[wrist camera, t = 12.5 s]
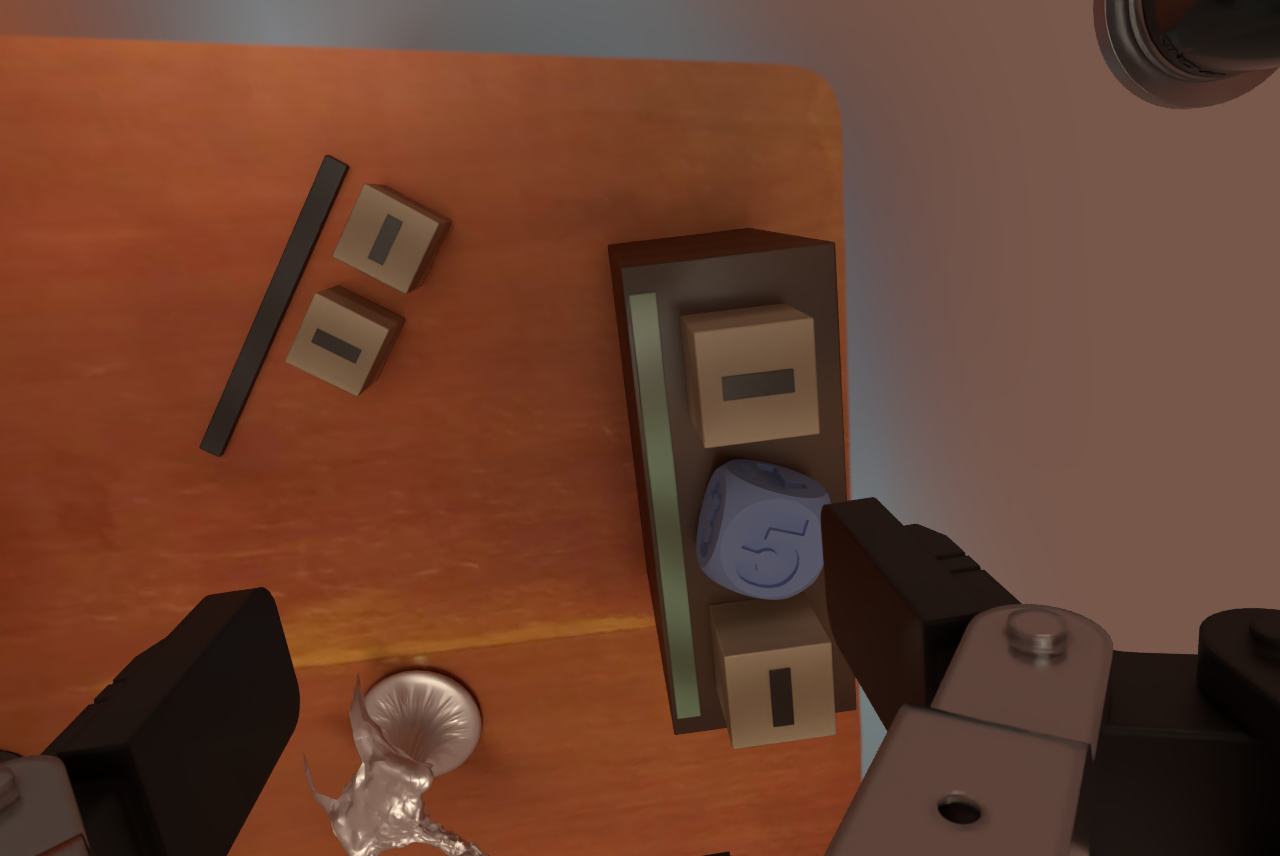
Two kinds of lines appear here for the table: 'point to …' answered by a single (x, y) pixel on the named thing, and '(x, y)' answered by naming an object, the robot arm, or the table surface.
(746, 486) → the decorative dice
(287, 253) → the beige cubes with bar
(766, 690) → the dark brown block
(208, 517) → the table surface
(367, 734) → the figurine
